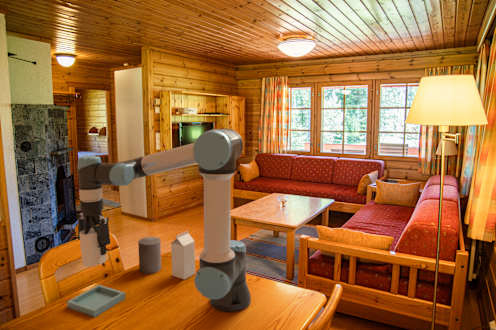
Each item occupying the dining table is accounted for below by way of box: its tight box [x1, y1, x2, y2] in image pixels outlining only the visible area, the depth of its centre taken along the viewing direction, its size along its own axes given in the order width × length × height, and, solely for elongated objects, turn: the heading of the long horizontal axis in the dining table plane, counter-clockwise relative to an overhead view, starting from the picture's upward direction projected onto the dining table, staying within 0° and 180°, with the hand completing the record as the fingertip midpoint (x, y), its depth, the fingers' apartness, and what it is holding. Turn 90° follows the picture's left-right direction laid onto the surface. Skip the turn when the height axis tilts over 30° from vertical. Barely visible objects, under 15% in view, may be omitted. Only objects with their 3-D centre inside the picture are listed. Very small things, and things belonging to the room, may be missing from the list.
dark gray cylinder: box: [137, 236, 162, 275], centre depth 157 cm, size 10×10×15 cm
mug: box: [79, 228, 99, 268], centre depth 127 cm, size 10×7×12 cm, turn 169°
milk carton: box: [170, 230, 196, 280], centre depth 151 cm, size 7×7×19 cm
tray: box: [66, 284, 126, 318], centre depth 129 cm, size 14×14×2 cm
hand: (95, 260), depth 127 cm, fingers closed on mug, 6 cm apart
